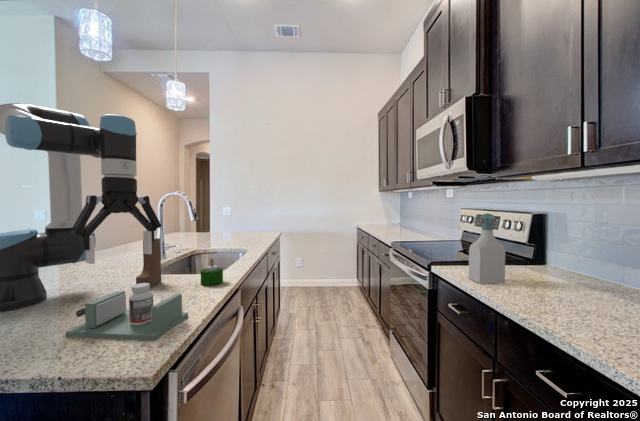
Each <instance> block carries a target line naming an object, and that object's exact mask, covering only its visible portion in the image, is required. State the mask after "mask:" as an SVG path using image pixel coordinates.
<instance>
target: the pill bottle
mask: <svg viewBox="0 0 640 421" xmlns="http://www.w3.org/2000/svg"><path fill="white" fill-rule="evenodd" d="M131 292H132V293H130V295H129V298H128V301H129V302H128V303H129V304H128V306H129V310H130V324H131V325H134V326H139V325H144V324H147V323H150V322H151V321H152V320H151V307H152V306H154V292H153V291H151V287H150V284H149V283H139V284H136V283H134V284H133V285H131Z"/></svg>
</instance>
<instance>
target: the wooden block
mask: <svg viewBox="0 0 640 421" xmlns="http://www.w3.org/2000/svg"><path fill="white" fill-rule="evenodd" d="M161 250H162V249H161V238H159V237H157V238H156V237H154V242H152V254H144V240H143V239H142V252H143V253H142V256H143V258H142V260H143V261H142V262H143V265H142V266H143V267H142V270H141V272H140V274H139V275H138V276H136V278H135V284H139V283H149V284H150V288H153V287H155V286H157V285H159V284H160V283H162V259H161V257H162V254H161V252H162V251H161Z"/></svg>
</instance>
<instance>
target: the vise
mask: <svg viewBox="0 0 640 421" xmlns="http://www.w3.org/2000/svg"><path fill="white" fill-rule="evenodd" d="M182 294H183V293H175V294H173V295H171V296H168V297H167V298H164V300H162V301H160V302H158V303H156V304H155V305H154V304H153V305H154V306H152V307H151V320H152V321H151V322H150V323H147V324H144V325H139V326H134V325H131V324H130V309H129V310H128V309H126V312H125V313H123V314H121V315H119V316H117V317H115V318H113V319H111V320H109V321H107V322H105V323H103V324H101V325H99V326H97V327H95V328H86V323H85V322H84V323H82V324H80V325H77V326H75V327H73V328H71V329H69V330H67V331H65V338H81V339H82V338H83V339H87V338H88V339H104V340H105V339H108V340H130V341H131V340H133V341H135V340H136V341H152V342H153V341H157V340H159V339H160V338H161V337H163V335H165V334H166V333H168V332H169V331H170V330H173V328H175V327H176V326H178V325H179V324H180V323H182V322H183V321H184V320H185V319H187V318H188V316H189V312H186V311H185V312H183V302H182V301H183V300H182V299H183V298H182V297H183V295H182Z"/></svg>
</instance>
